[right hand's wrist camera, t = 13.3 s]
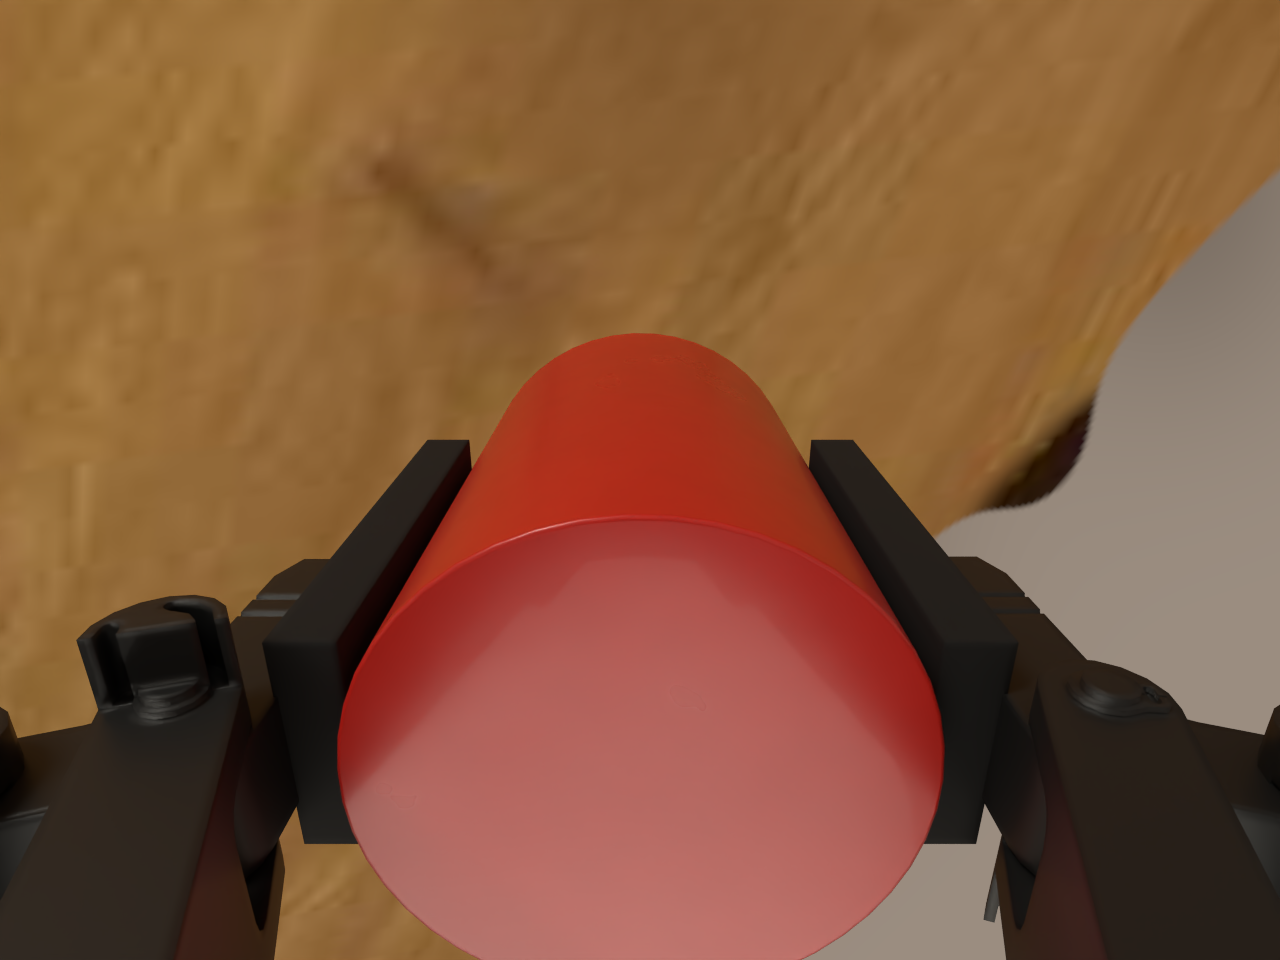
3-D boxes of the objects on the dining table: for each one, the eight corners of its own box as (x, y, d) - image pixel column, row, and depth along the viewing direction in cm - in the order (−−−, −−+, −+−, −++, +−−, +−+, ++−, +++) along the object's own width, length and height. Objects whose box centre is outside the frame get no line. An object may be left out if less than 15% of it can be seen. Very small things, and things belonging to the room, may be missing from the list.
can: (471, 582, 17) (316, 954, 9) (515, 301, 14) (361, 451, 6) (745, 634, 17) (838, 1032, 9) (828, 369, 15) (1046, 588, 7)
